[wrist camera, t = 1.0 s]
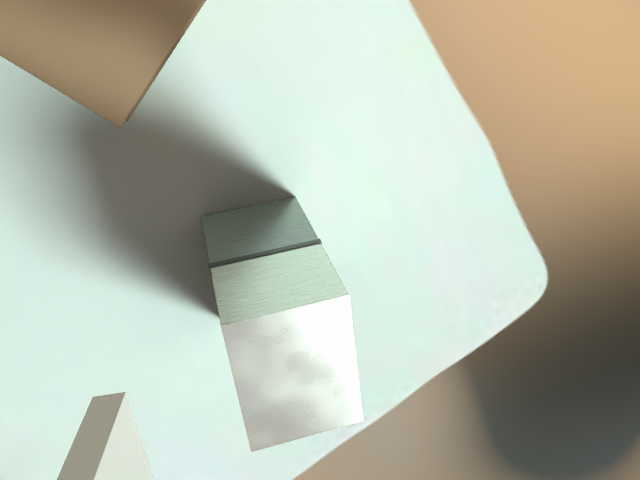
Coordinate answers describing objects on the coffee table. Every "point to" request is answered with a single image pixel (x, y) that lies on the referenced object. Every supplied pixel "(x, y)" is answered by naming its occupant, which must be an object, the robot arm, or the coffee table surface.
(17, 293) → the coffee table surface
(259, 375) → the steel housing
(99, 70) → the walnut stand
